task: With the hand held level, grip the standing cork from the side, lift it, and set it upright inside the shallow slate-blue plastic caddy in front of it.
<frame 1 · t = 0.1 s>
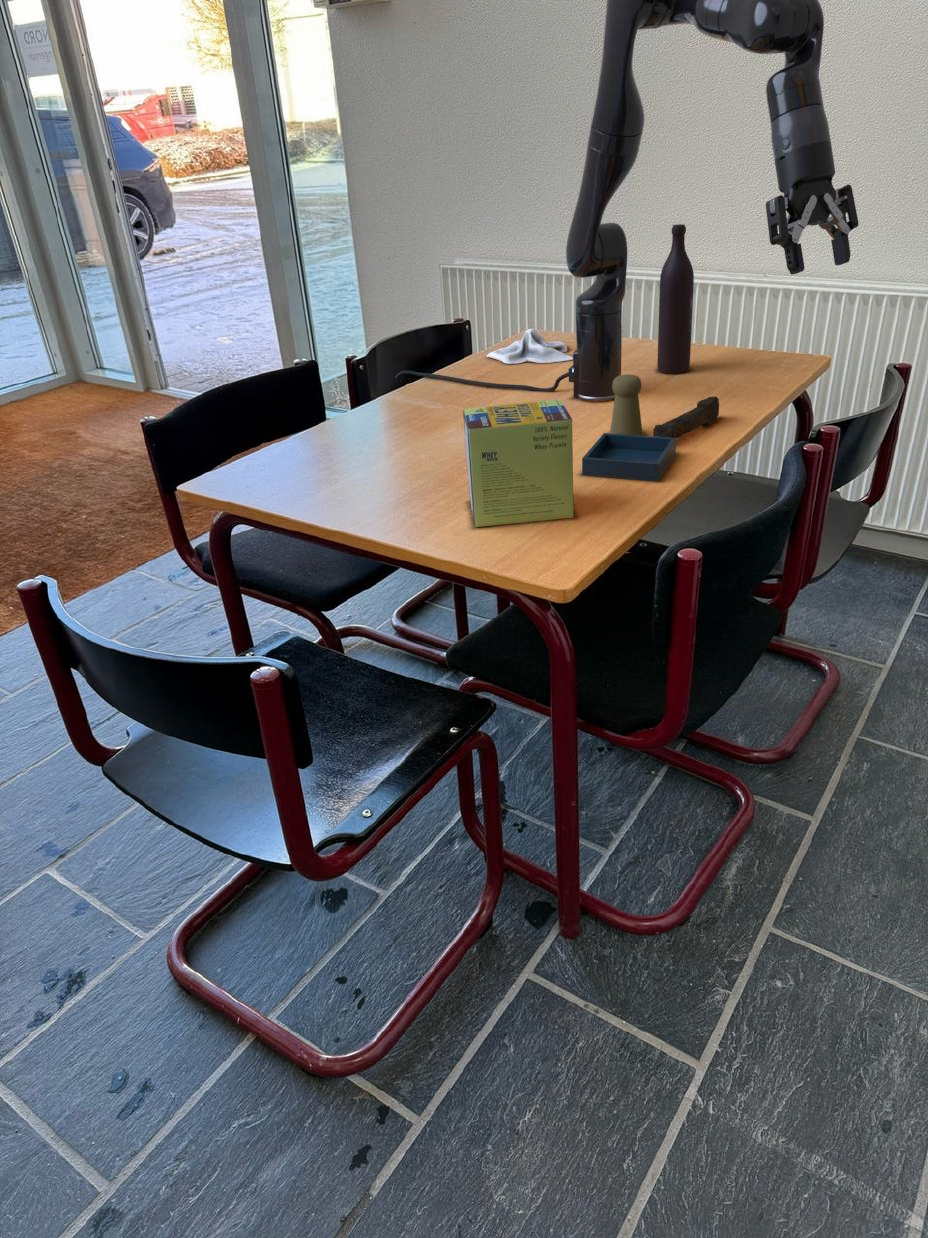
hand: (820, 268, 130), 31 cm above the table, tool tilted 20°, fingers open, 8 cm apart
caddy: (629, 464, 155), on the table
protein box: (520, 510, 142), on the table
rusty railroad spike: (687, 432, 167), on the table
cork: (626, 435, 168), on the table
cloth: (535, 355, 223), on the table
wine bottle: (673, 370, 203), on the table
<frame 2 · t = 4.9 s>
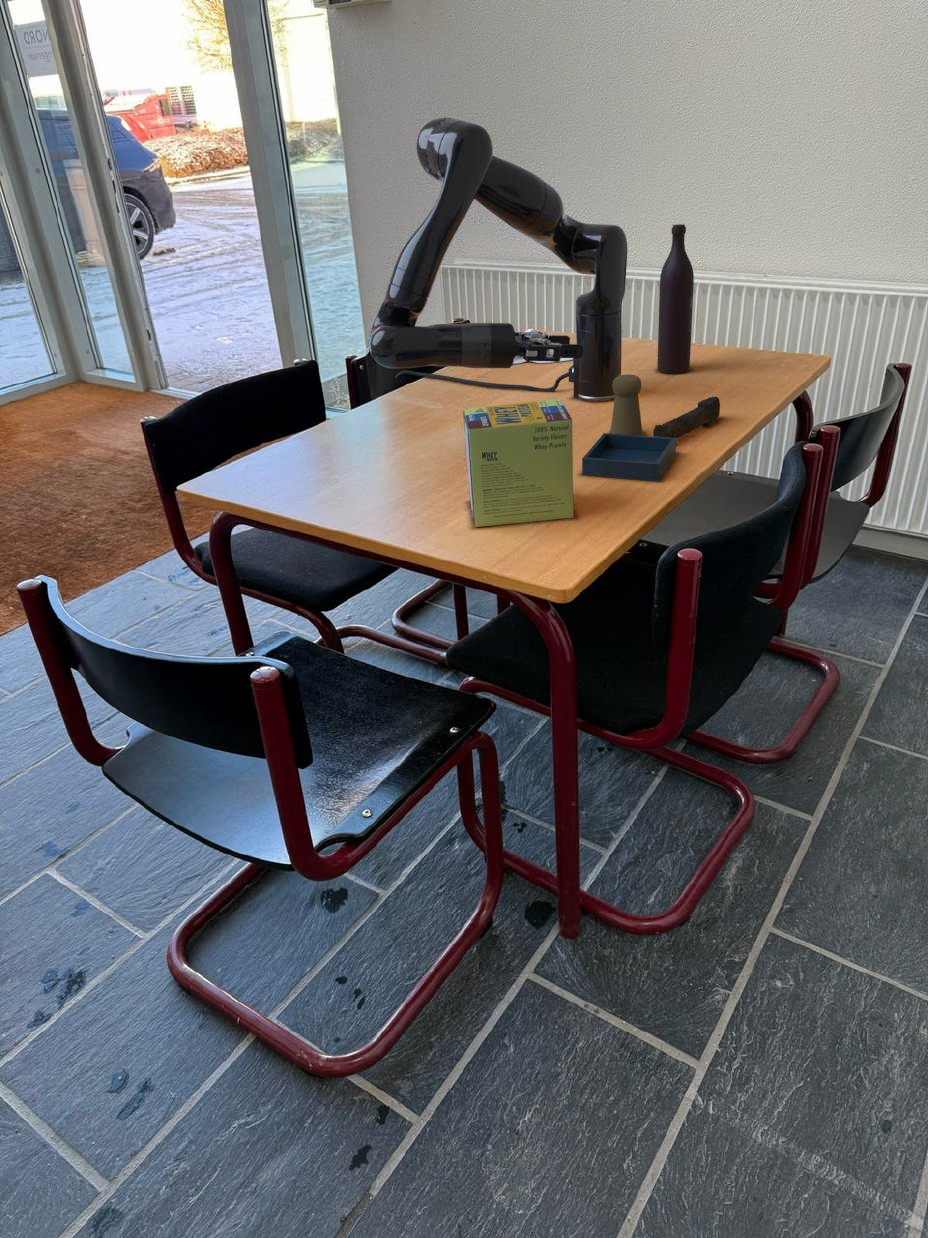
hand: (575, 346, 159), 17 cm above the table, tool horizontal, fingers open, 8 cm apart
nothing on the table moved.
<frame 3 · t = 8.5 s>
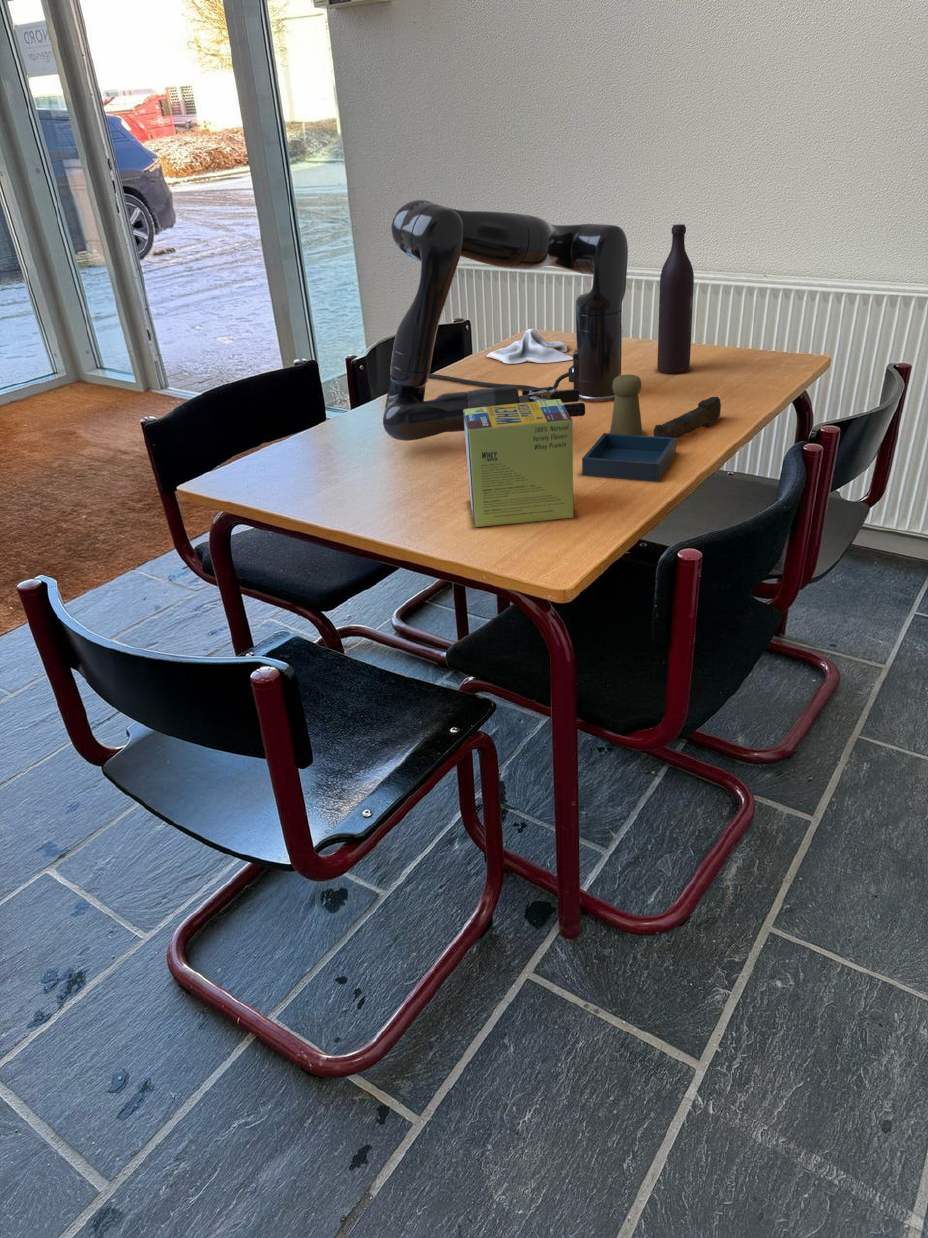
hand: (581, 401, 165), 7 cm above the table, tool horizontal, fingers open, 8 cm apart
nothing on the table moved.
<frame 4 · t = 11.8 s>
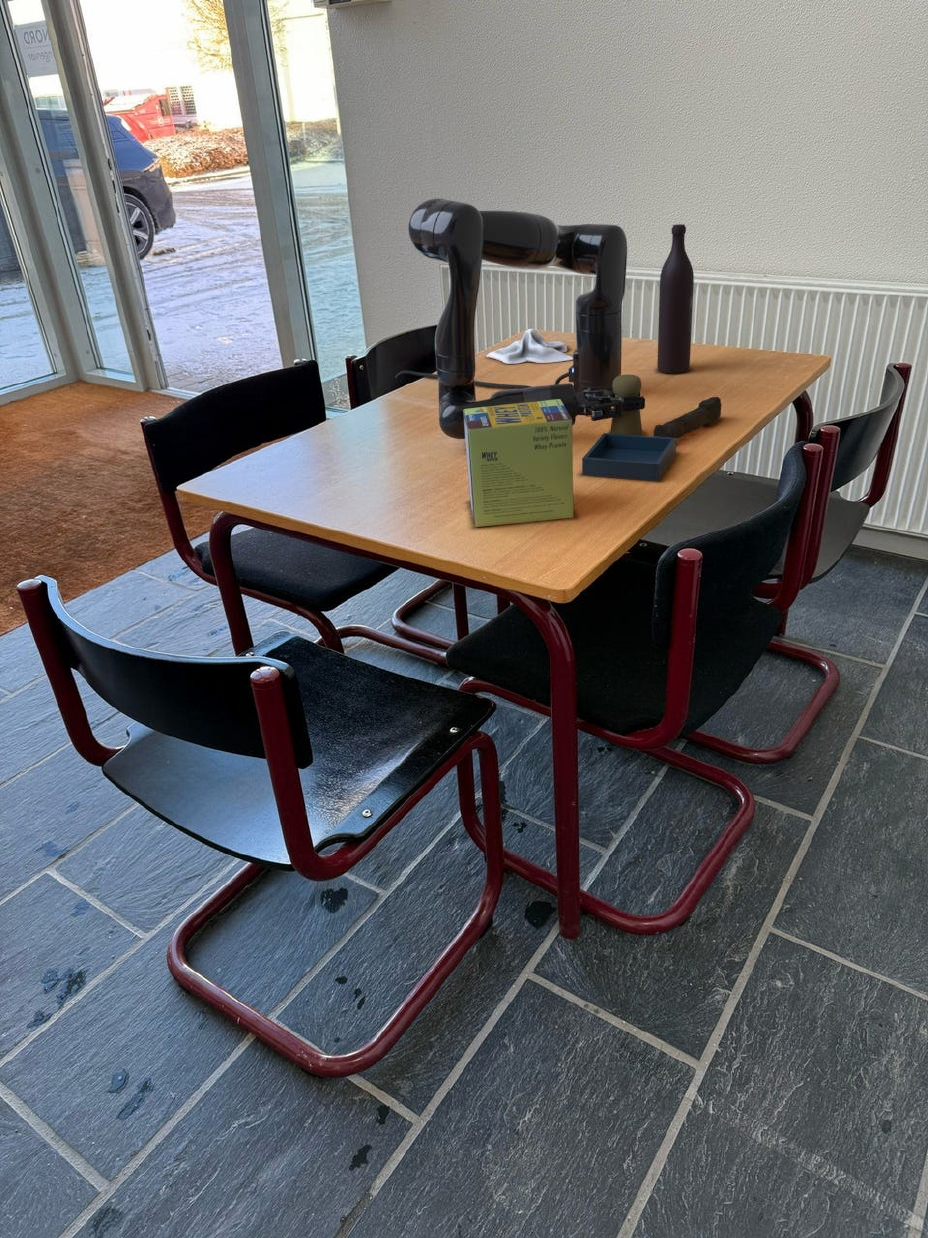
hand: (641, 398, 165), 7 cm above the table, tool horizontal, fingers closed on cork, 4 cm apart
cork: (626, 435, 168), on the table, touching gripper
everything else where it was.
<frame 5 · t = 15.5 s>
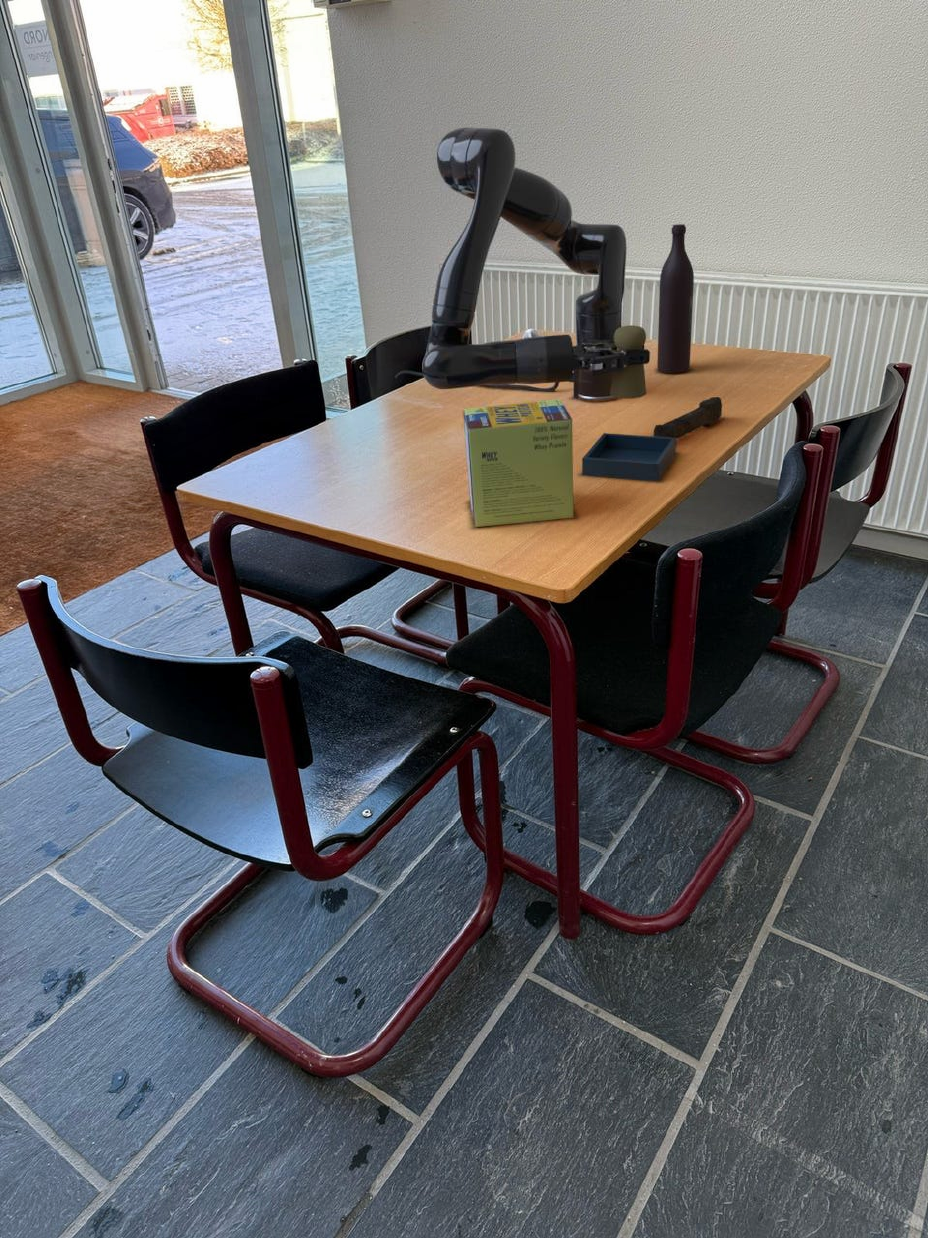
hand: (645, 352, 150), 18 cm above the table, tool horizontal, fingers closed on cork, 4 cm apart
cork: (628, 394, 153), point 11 cm above the table, touching gripper
everything else where it was.
when the fingers open (7 cm above the table, at t = 19.3 s): cork stays where it is, resting on caddy.
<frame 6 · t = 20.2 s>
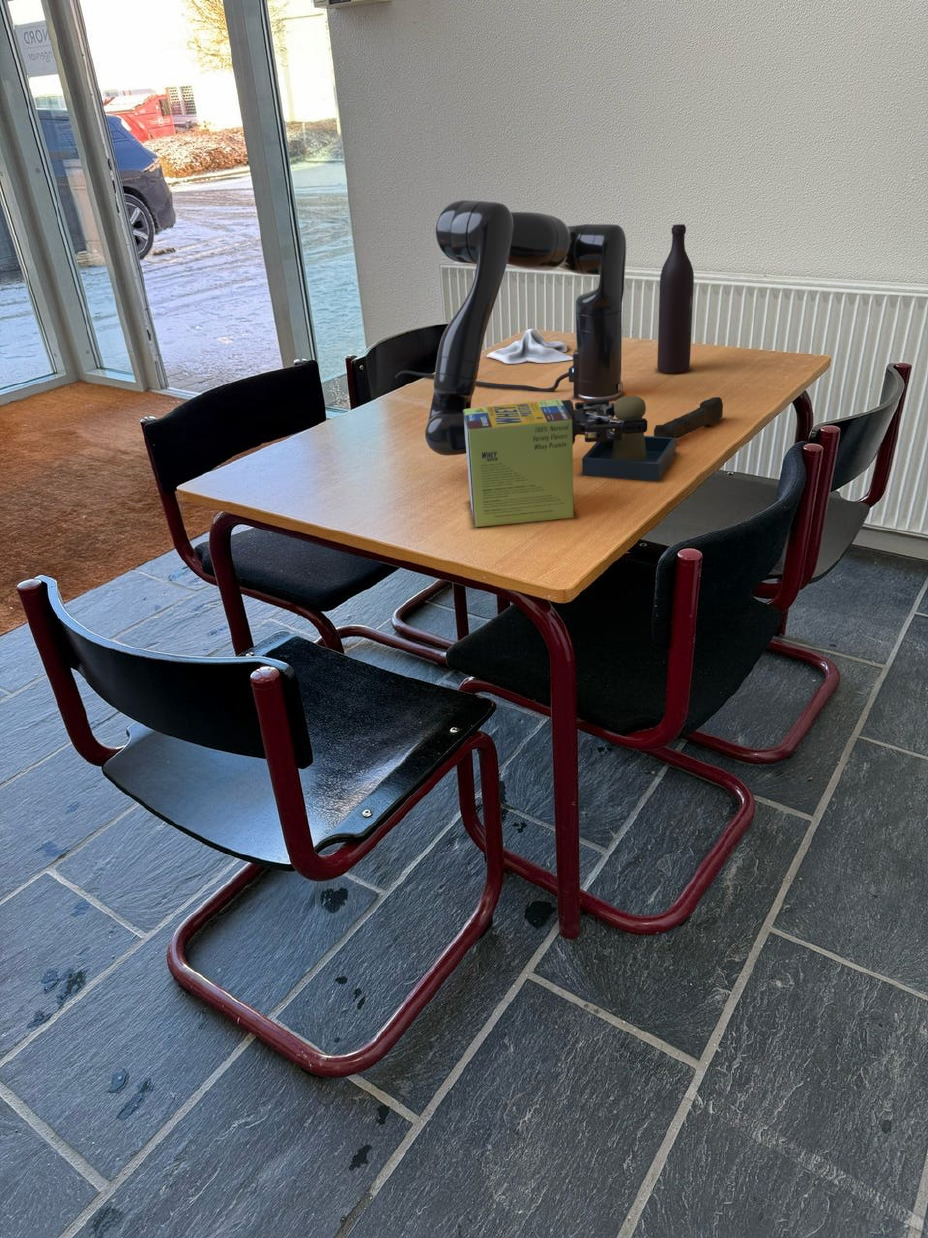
hand: (642, 416, 151), 8 cm above the table, tool horizontal, fingers open, 8 cm apart
cork: (629, 462, 155), resting on caddy
everything else where it was.
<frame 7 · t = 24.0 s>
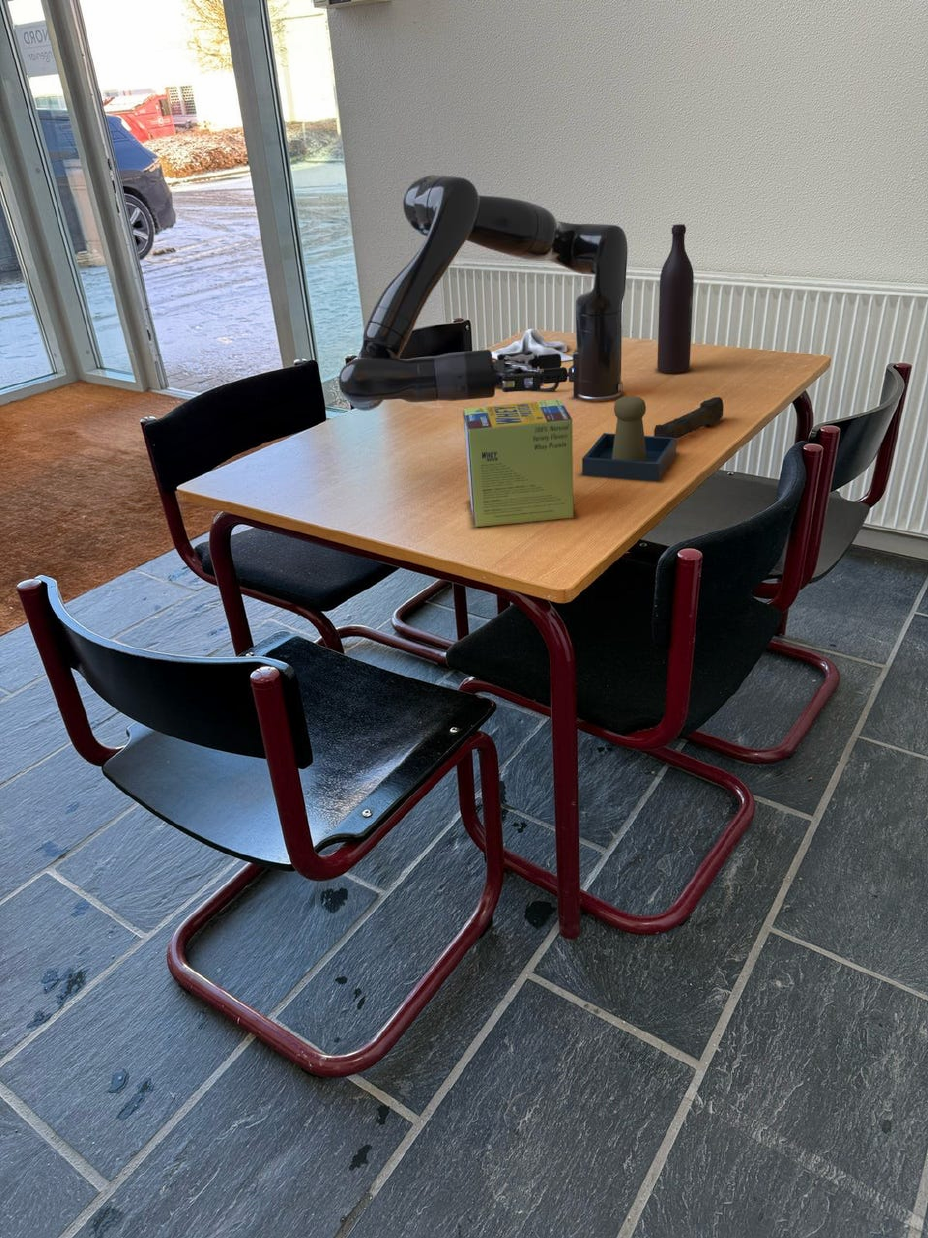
hand: (563, 367, 146), 18 cm above the table, tool horizontal, fingers open, 8 cm apart
nothing on the table moved.
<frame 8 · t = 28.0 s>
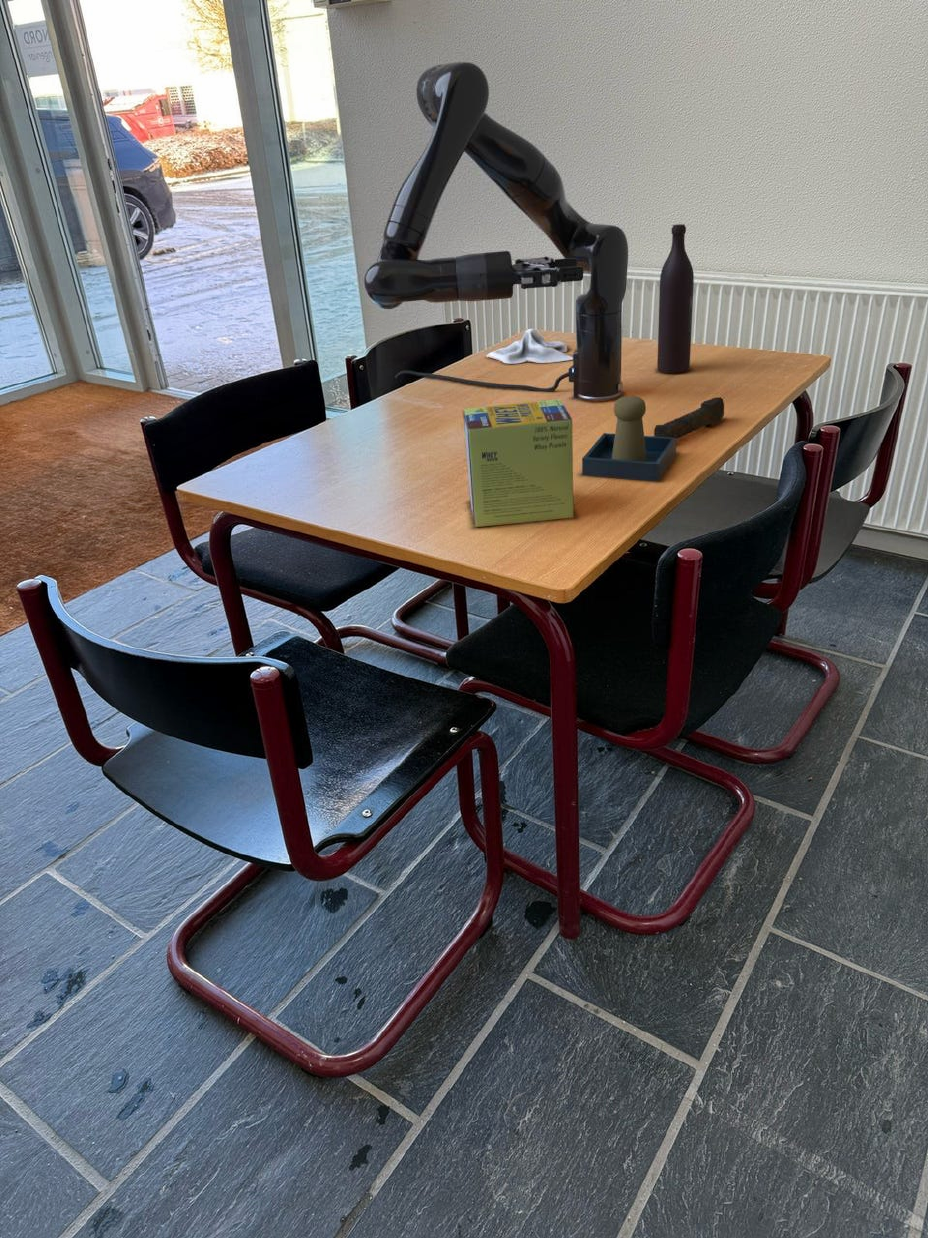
hand: (579, 268, 153), 30 cm above the table, tool horizontal, fingers open, 8 cm apart
nothing on the table moved.
at the end: cork inside the target area in the caddy (0.1 cm from its centre), point 0.4 cm above the caddy's base; cork tilted 0°; the gripper is holding nothing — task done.
